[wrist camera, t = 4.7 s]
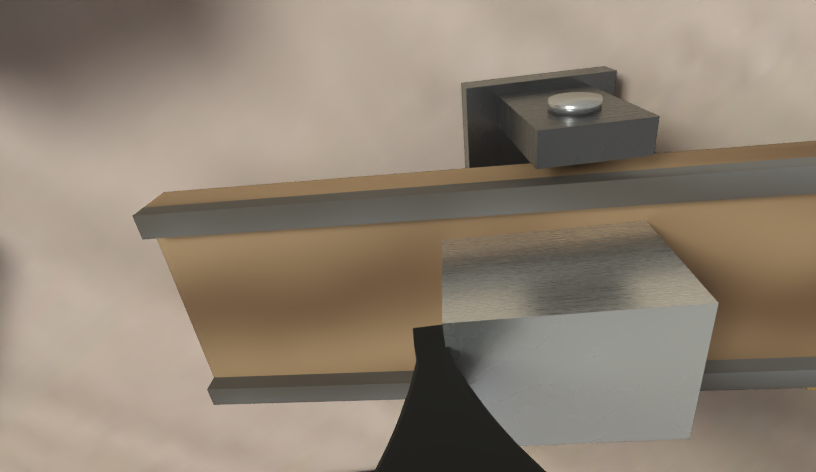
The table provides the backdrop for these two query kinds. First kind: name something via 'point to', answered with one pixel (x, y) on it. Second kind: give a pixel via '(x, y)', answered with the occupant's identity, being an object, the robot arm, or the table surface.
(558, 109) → the stand
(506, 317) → the block
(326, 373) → the beam
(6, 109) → the table surface
